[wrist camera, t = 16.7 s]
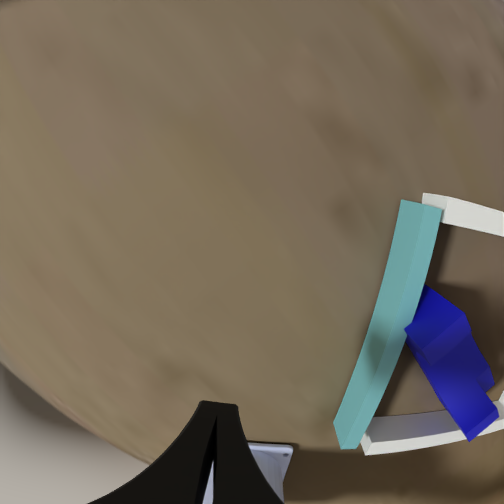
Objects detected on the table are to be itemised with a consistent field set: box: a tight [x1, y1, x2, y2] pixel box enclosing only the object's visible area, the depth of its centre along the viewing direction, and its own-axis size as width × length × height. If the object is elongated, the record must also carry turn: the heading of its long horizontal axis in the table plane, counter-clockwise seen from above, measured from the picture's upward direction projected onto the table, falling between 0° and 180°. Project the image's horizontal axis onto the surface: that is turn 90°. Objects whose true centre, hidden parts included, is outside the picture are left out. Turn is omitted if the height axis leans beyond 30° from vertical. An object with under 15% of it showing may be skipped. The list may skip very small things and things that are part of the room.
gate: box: [333, 200, 442, 449], centre depth 18 cm, size 17×1×3 cm, turn 171°
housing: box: [360, 193, 504, 455], centre depth 19 cm, size 19×18×4 cm
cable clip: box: [404, 284, 499, 442], centre depth 18 cm, size 12×4×6 cm, turn 39°
